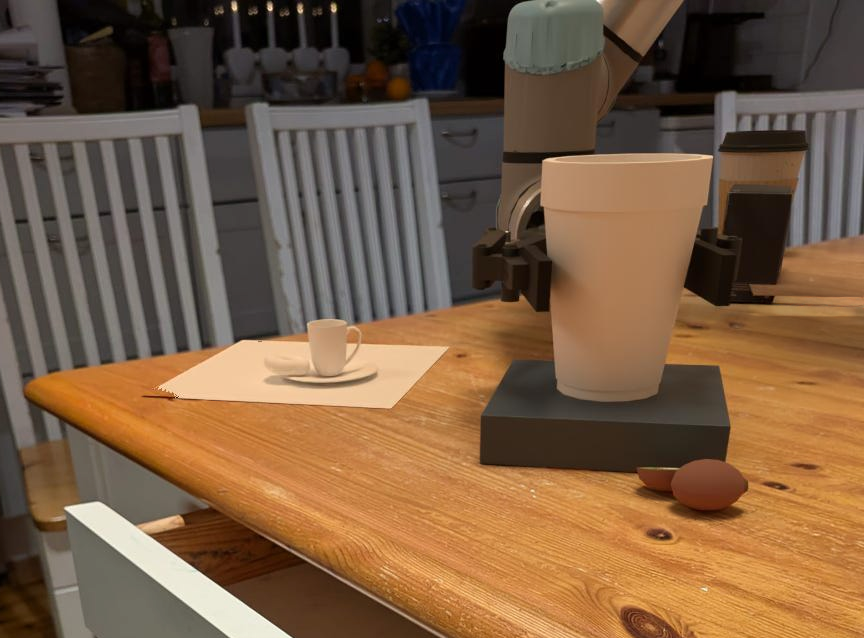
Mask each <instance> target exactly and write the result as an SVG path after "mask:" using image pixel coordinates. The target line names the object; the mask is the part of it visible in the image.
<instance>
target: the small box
mask: <svg viewBox="0 0 864 638" xmlns="http://www.w3.org/2000/svg"><path fill="white" fill-rule="evenodd" d="M792 205H793V202H792V186H781V185H756V184H734V185H733V186H732V188H731V189H730V190H729V192H728V194H727V200H726V207H725V215H724V222H723V229H722V235H726V236H737V238H741V239H742V245H741V253H740V260H739V267H738V273H737V280H736V281H734V282H733V284H732V291H731V298H730V302H742V303H743V302H745V303H766V304H773V303H774V300H775V295H773V294H772V295H766V294H764V295H762V294H761V295H760V294H754V293H753V290H752V288H751V286H750V285H753V286H755V285H756V286H776V285H778V284H779V281H780V276H781V272H782V267H783V262H784V257H785V251H786V247H787V246H786V245H787V241H788V235H789V229H790V223H791V217H792Z"/></svg>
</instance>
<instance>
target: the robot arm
mask: <svg viewBox="0 0 864 638" xmlns="http://www.w3.org/2000/svg"><path fill="white" fill-rule="evenodd" d="M684 1H685V0H527V1H522V2H520V3H517V4H515V5H514V6H513V7H512V8H511V9H510V12H509V15H508V17H507V25H506V27H507V29H506V40H505V41H506V42H505V48H504V50H503V56H502V58H503V59H502V60H503V61H504V100H503V101H504V102H503V103H504V104H503V105H504V106H503V151H502V161H501V188H500V189H501V190H500V191H501V192H500V195H499V199H498V202H497V204H496V209H495V226H488V228H485V229H483V237H482V238H480V239H479V240H478V241H477V242H475V244H473V245H472V246H471V249H472V250H471V288H472V289H474V290H477V291H485V290H486V289H489V288H491V287H492V286H493V285H494V284H495V282H500V301H501V302H503V303H517V302H520V296H521V295H520V294H522V296H523V297H524V299H525V300H526V301H527V302H528V304H529V305H530V307H532V309H533V310H534V312H535V313H549V312H551V302H550V293H551V274H552V260H551V259H550V258H549V257H548V256H547V245H546V230H545V216H544V207H543V206H540V202H541V181H542V161H543V160H545V159H548V158H557V157H566V156H583V155H596V154H595V153H596V150H595V147H596V137H597V136H596V135H597V126H598V125H599V124H600V123H601V122H602V121H604V118H606V116H607V115H608V114H609V112H610V111H611V110H612V109H613V106H614V105H615V103H616V100H617V96H618V94H619V92H621V90H622V88H623V87H624V86H625V84H626V83H627V81H628V80H629V79H630V77H631V76H632V74H633V73H634V72H635V71H636V69H637V68H638V66H639V64H640V62H641V61H642V59H644V56H645V55H646V54H647V52H648V51H649V50H650V48H651V47H652V46H653V44H654V43H655V41H656V40H657V38H659V36H660V34H661V33H662V31H663V30H664V28H665V27H666V26H667V24H668V23H669V22H670V20H671V19H672V18H673V16H674V14H675V13H676V12H677V10H678V9H679V8H680V6H681V5H682V4H683V2H684ZM718 229H719V228H718V226H714V227H712V226H711V227H703V228H700V229H697V233H696V238H695V242H694V246H693V250H692V254H691V258H690V262H689V266H688V271H687V275H686V279H685V283H684V287H683V289H686V290H687V291H689V292H691V293H692V294H694V295H696V296H697V297H699V298H701V299H703V300H704V301H706V302H707V303H710V304H711V305H712V306H714V307H730V306H731V305H730V303H731V301H730V298H731V291H732V284H733V282H734V281H736V280H737V273H738V267H739V260H740V253H741V245H742V239H741V238H737V236H726V235H721V234H718Z"/></svg>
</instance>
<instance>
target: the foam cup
mask: <svg viewBox="0 0 864 638" xmlns="http://www.w3.org/2000/svg"><path fill="white" fill-rule="evenodd" d="M713 159H714V155H709V154H698V153H611V154H610V153H609V154H608V153H607V154H605V153H604V154H595V155H583V156H566V157H557V158H548V159H545V160H543V161H542V181H541V202H540V206H543V207H544V216H545V230H546V245H547V256H548V257H549V258H550V259H551V260H552V274H551V293H550V314H551V315H550V316H551V330H552V344H553V358H554V360H553V361H555V374H556V379H557V389H558V390H559V391H560V392H561V393H563V394H564V395H568V396H571V397H575V398H578V399H584V400H592V401H601V402H617V401H632V400H639V399H646V398H648V397H650V396H653V395H655V394H657V393H658V388H659V383H660V382H661V378H662V374H663V370H664V365H665V364H666V360H667V357H668V354H669V349H670V346H671V345H670V344H671V341H672V336H673V332H674V329H675V324H676V320H677V315H678V312H679V308H680V303H681V299H682V295H683V291H684V283H685V279H686V275H687V271H688V266H689V262H690V258H691V254H692V250H693V246H694V242H695V238H696V233H697V230H699V225H700V221H701V218H702V217H701V216H702V212H703V209H704V206H708V199H709V192H710V186H711V185H710V183H711V177H712V176H711V175H712V168H713V161H714V160H713Z"/></svg>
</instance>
